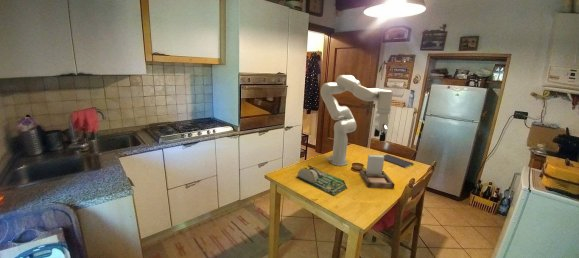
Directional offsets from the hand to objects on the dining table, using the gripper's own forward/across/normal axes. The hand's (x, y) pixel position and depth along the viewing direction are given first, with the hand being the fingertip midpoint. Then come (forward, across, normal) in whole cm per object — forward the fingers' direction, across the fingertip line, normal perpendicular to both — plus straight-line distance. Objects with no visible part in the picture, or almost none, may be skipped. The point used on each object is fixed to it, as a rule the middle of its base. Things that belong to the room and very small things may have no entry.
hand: (379, 138), depth 145 cm
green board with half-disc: (+27, +6, -34) cm, 44 cm away
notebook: (+27, -31, +27) cm, 49 cm away
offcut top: (+25, +8, 0) cm, 27 cm away
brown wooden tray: (+26, +5, 0) cm, 27 cm away
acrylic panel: (+26, 0, 0) cm, 26 cm away
